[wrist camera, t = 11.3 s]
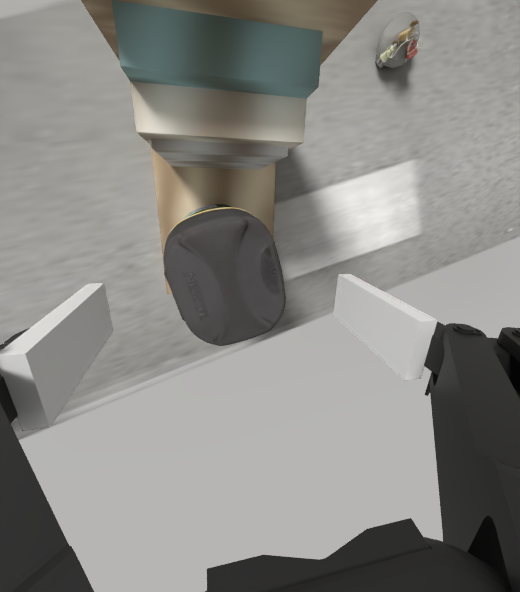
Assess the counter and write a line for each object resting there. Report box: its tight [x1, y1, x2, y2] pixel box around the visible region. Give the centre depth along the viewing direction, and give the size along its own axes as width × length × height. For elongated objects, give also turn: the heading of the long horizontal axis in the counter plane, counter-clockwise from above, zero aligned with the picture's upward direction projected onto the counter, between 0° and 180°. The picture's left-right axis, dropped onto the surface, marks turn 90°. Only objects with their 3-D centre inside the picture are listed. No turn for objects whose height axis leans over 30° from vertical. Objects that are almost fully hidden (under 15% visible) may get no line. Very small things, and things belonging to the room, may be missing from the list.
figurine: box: [376, 12, 421, 68], centre depth 29 cm, size 5×4×6 cm
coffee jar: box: [163, 204, 286, 346], centre depth 25 cm, size 10×8×19 cm
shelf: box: [81, 0, 377, 294], centre depth 24 cm, size 14×22×22 cm, turn 179°
